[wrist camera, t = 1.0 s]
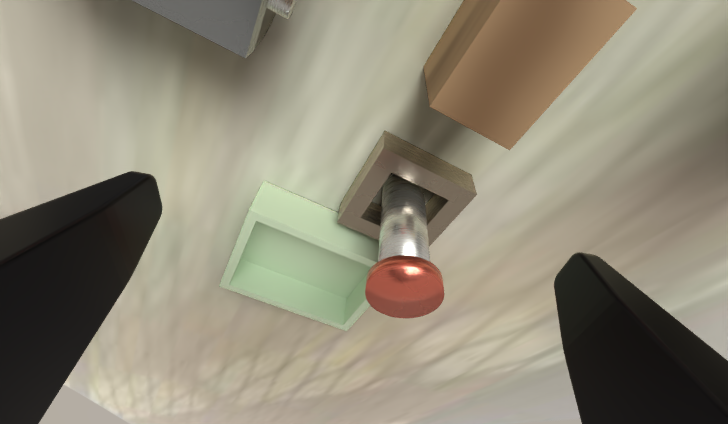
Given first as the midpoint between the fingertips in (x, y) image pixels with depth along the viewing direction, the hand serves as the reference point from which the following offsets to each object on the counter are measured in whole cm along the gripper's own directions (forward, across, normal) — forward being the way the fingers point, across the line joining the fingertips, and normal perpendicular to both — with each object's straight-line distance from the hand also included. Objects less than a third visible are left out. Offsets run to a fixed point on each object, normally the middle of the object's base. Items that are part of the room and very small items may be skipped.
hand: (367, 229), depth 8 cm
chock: (+13, -5, -2) cm, 14 cm away
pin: (+13, -3, +8) cm, 16 cm away
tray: (+13, +2, +15) cm, 20 cm away
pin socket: (+13, -3, +8) cm, 16 cm away
